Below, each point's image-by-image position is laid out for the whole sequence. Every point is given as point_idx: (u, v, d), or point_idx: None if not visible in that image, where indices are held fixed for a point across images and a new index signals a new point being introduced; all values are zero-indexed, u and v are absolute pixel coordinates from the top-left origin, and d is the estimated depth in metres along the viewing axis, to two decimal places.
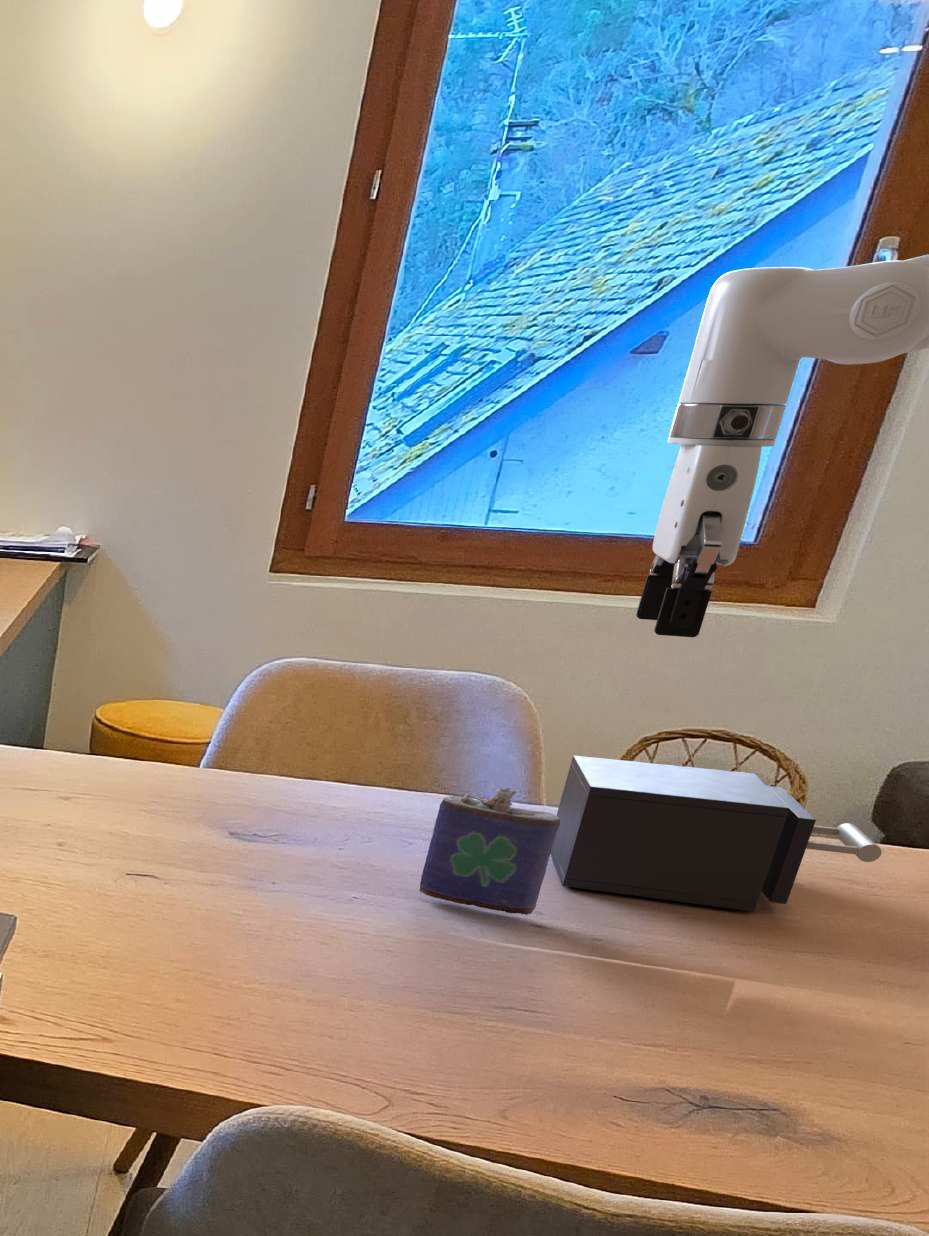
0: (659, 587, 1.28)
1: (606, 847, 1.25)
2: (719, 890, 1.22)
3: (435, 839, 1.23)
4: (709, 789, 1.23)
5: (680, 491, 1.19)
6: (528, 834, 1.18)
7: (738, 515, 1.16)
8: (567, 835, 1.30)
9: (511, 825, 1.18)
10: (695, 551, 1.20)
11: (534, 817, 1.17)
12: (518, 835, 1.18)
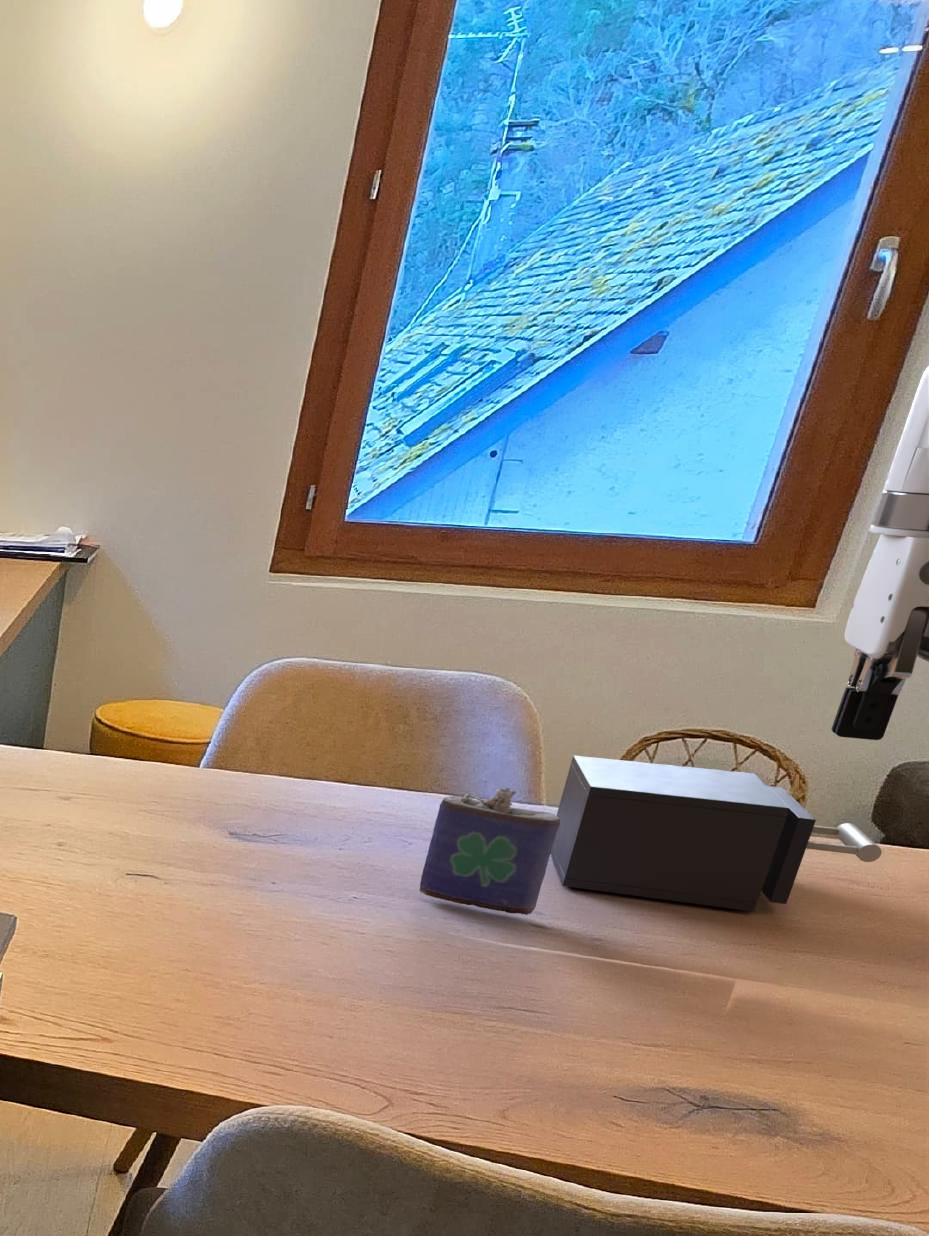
0: None
1: (606, 847, 1.25)
2: (719, 890, 1.22)
3: (435, 839, 1.23)
4: (709, 789, 1.23)
5: (887, 584, 1.13)
6: (528, 834, 1.18)
7: None
8: (567, 835, 1.30)
9: (511, 825, 1.18)
10: None
11: (534, 817, 1.17)
12: (518, 835, 1.18)
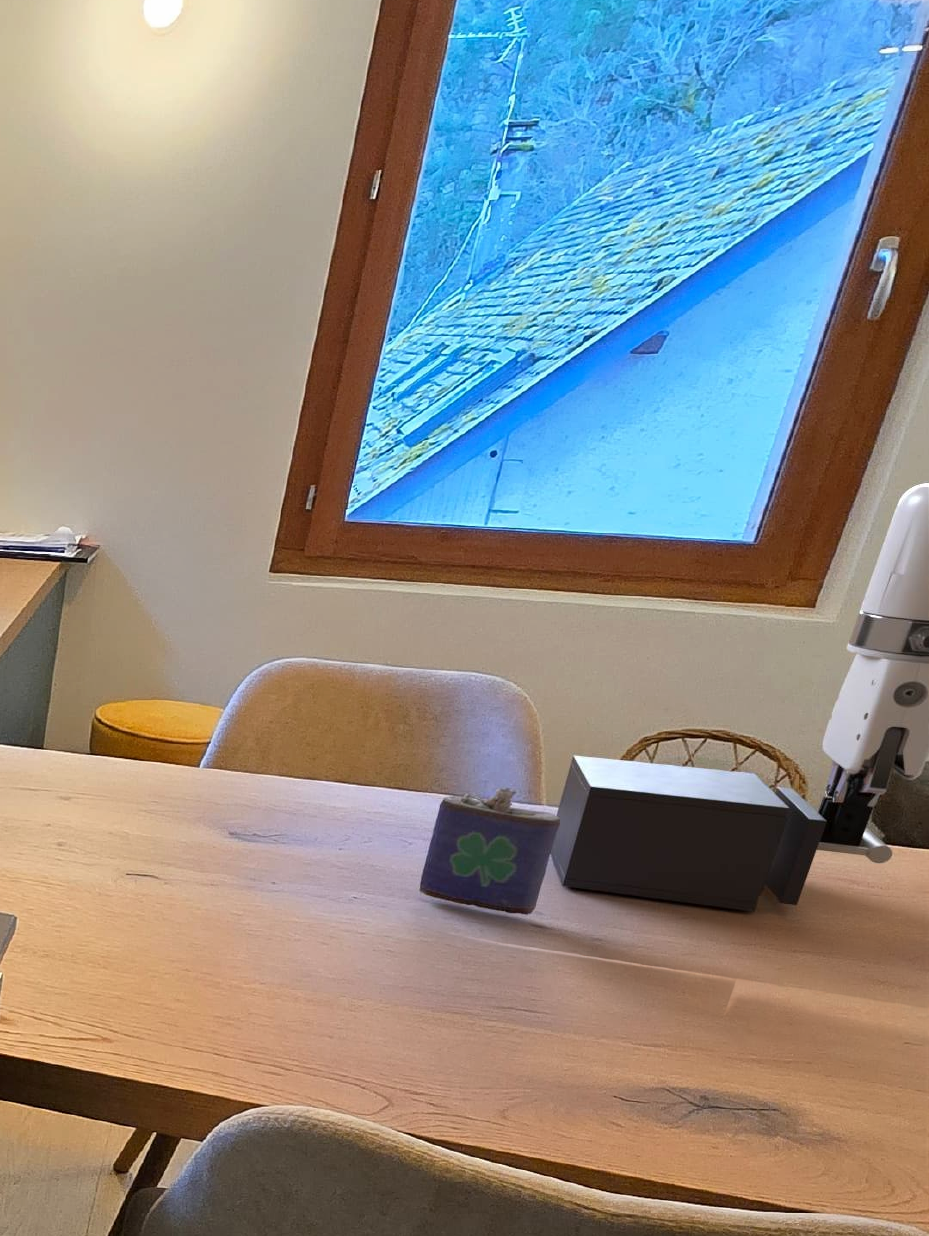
0: None
1: (606, 847, 1.25)
2: (719, 890, 1.22)
3: (435, 839, 1.23)
4: (709, 789, 1.23)
5: (863, 702, 1.16)
6: (528, 834, 1.18)
7: (926, 732, 1.13)
8: (567, 835, 1.30)
9: (511, 825, 1.18)
10: None
11: (534, 817, 1.17)
12: (518, 835, 1.18)
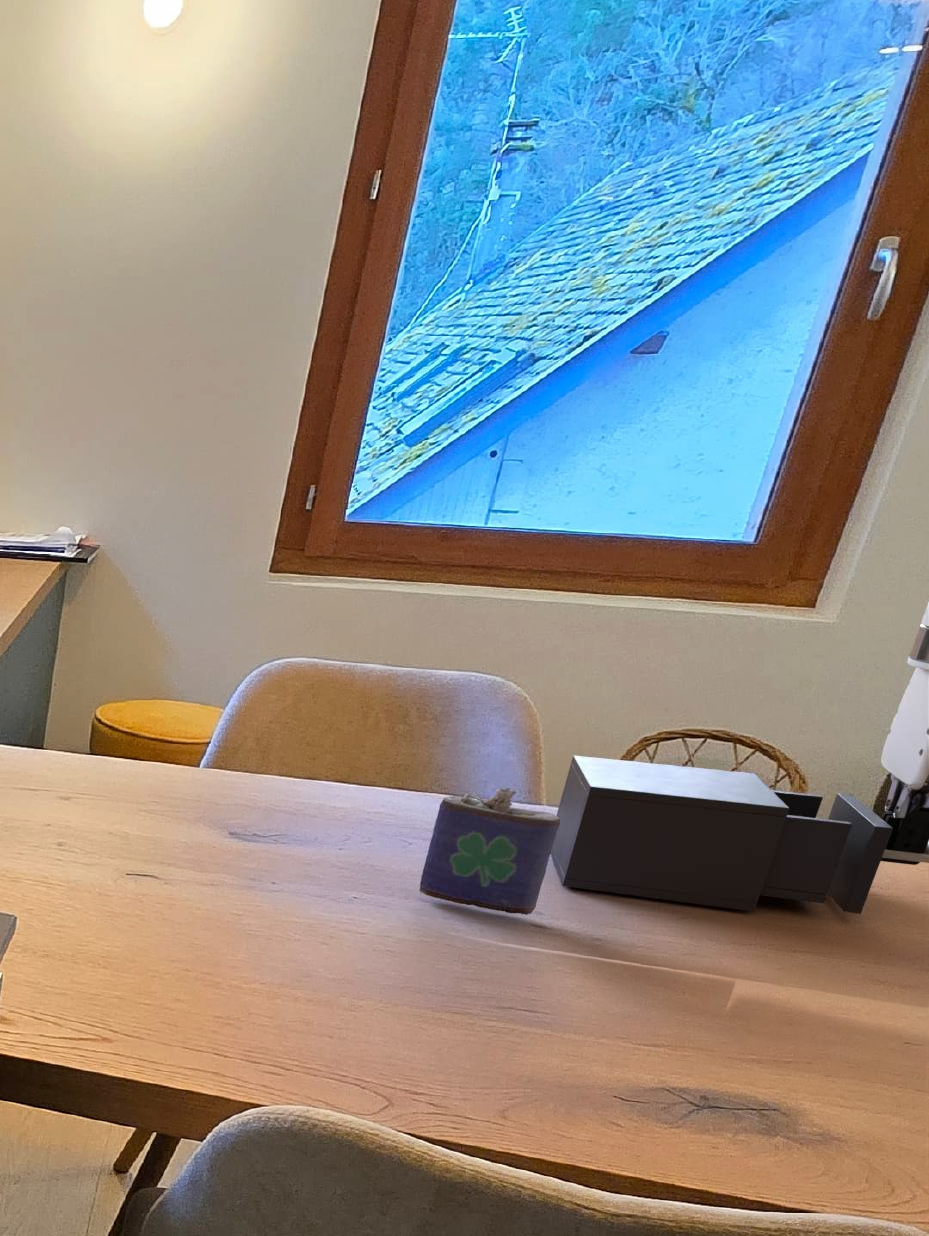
0: None
1: (606, 847, 1.25)
2: (719, 890, 1.22)
3: (435, 839, 1.23)
4: (709, 789, 1.23)
5: (925, 717, 1.15)
6: (528, 834, 1.18)
7: None
8: (567, 835, 1.30)
9: (511, 825, 1.18)
10: None
11: (534, 817, 1.17)
12: (518, 835, 1.18)
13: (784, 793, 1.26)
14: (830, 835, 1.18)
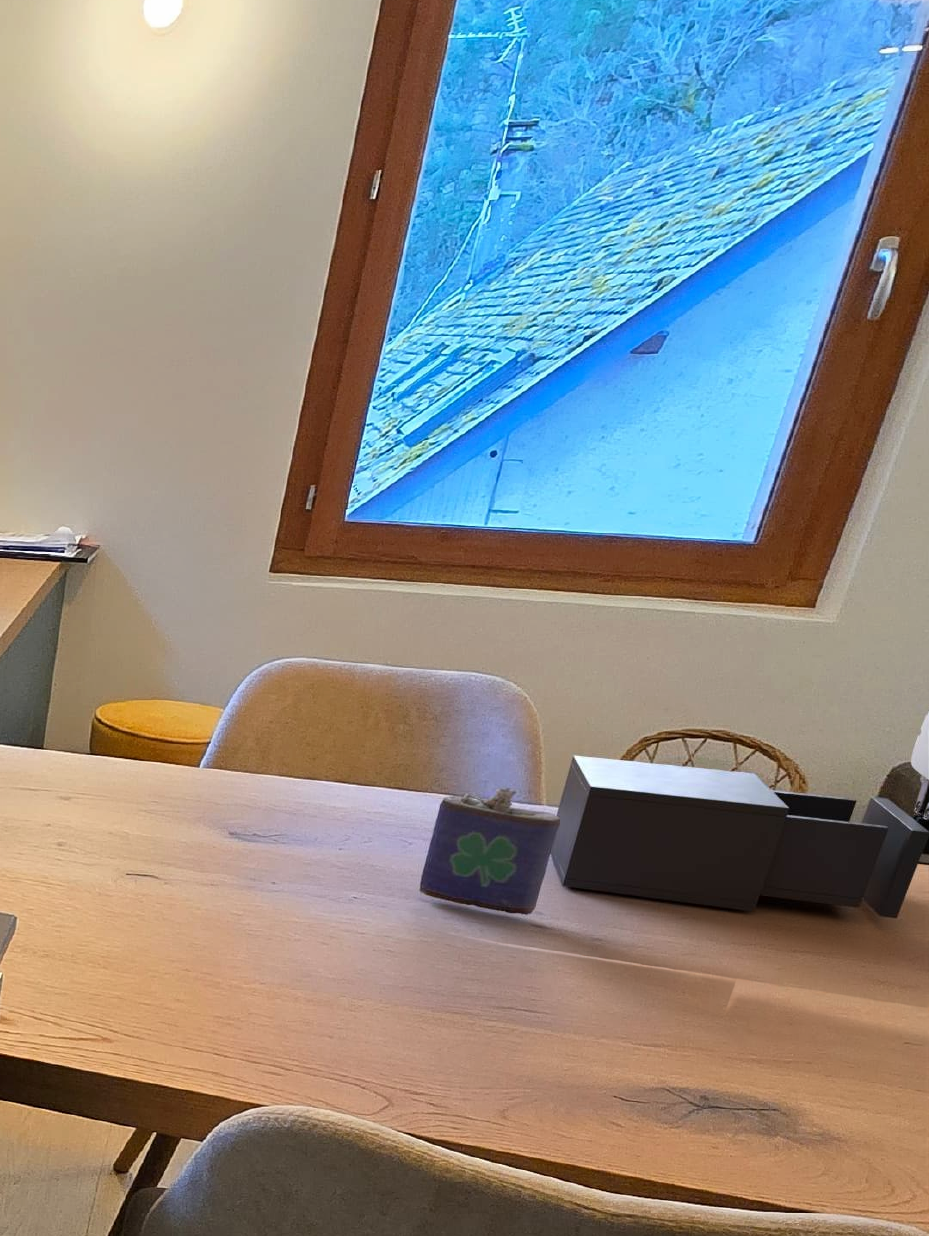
0: None
1: (606, 847, 1.25)
2: (719, 890, 1.22)
3: (435, 839, 1.23)
4: (709, 789, 1.23)
5: None
6: (528, 834, 1.18)
7: None
8: (567, 835, 1.30)
9: (511, 825, 1.18)
10: None
11: (534, 817, 1.17)
12: (518, 835, 1.18)
13: (817, 796, 1.25)
14: (866, 839, 1.17)
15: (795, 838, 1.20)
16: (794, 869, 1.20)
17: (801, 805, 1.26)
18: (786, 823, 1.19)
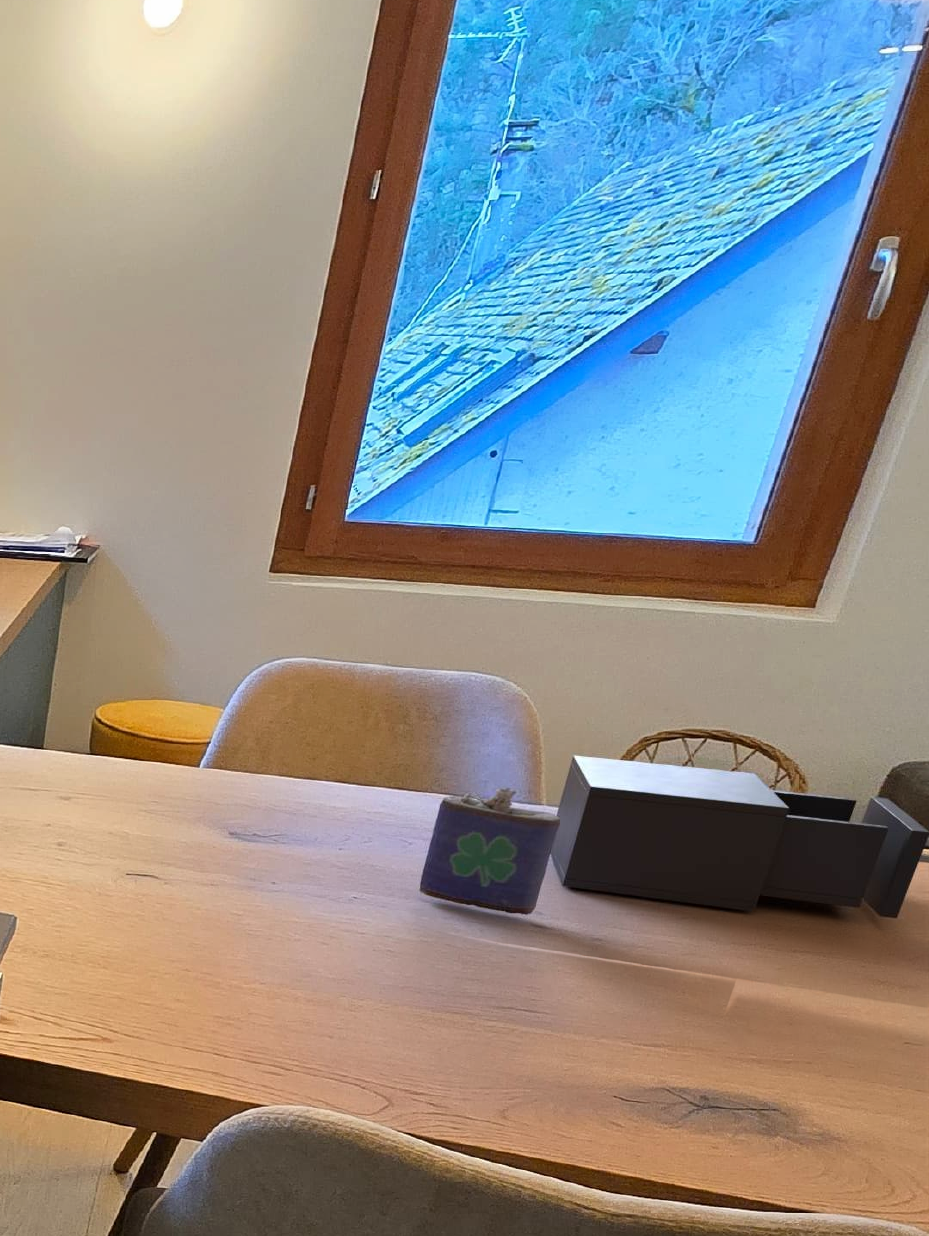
0: None
1: (606, 847, 1.25)
2: (719, 890, 1.22)
3: (435, 839, 1.23)
4: (709, 789, 1.23)
5: None
6: (528, 834, 1.18)
7: None
8: (567, 835, 1.30)
9: (511, 825, 1.18)
10: None
11: (534, 817, 1.17)
12: (518, 835, 1.18)
13: (817, 796, 1.25)
14: (866, 839, 1.17)
15: (795, 838, 1.20)
16: (794, 869, 1.20)
17: (801, 805, 1.26)
18: (786, 823, 1.19)
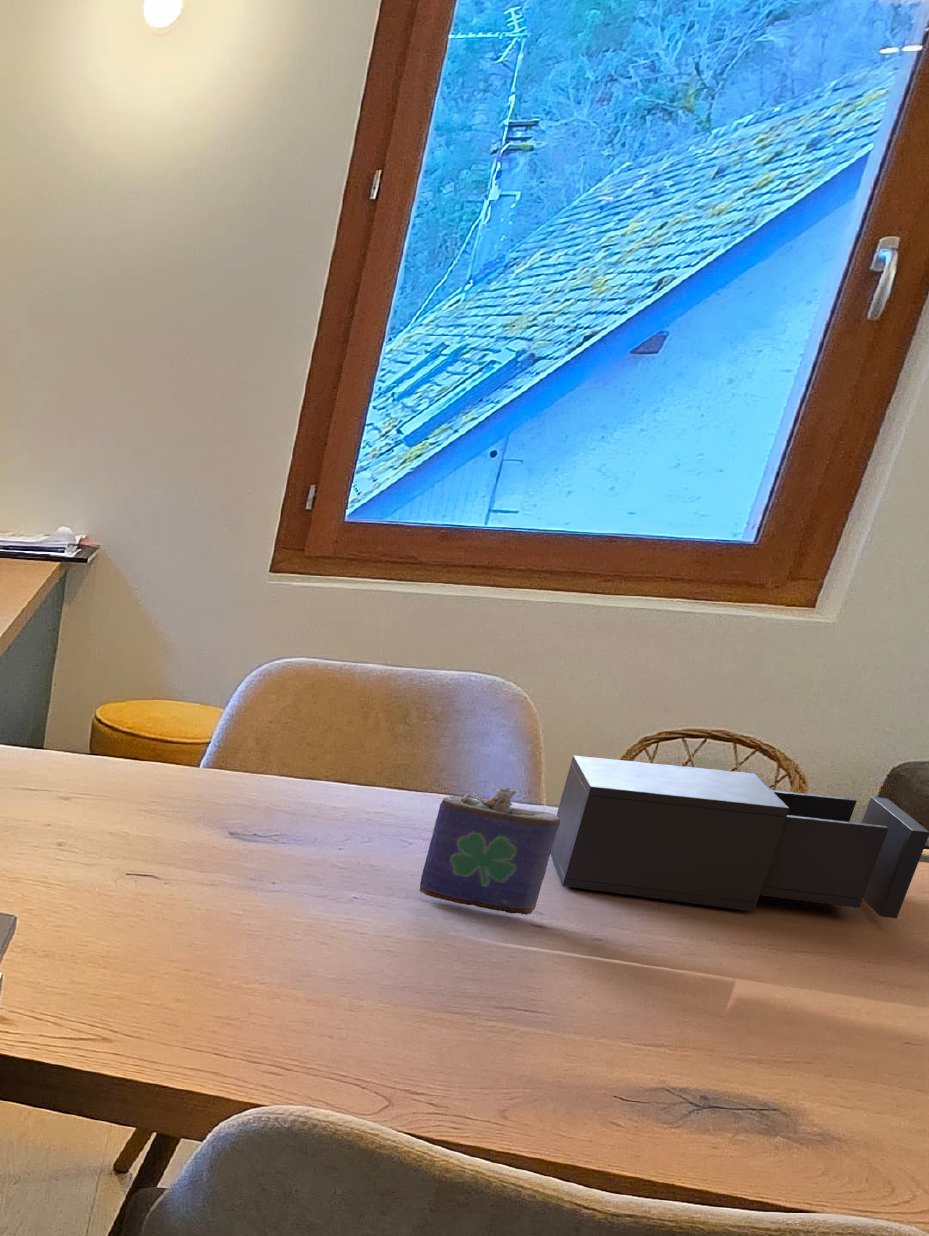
0: None
1: (606, 847, 1.25)
2: (719, 890, 1.22)
3: (435, 839, 1.23)
4: (709, 789, 1.23)
5: None
6: (528, 834, 1.18)
7: None
8: (567, 835, 1.30)
9: (511, 825, 1.18)
10: None
11: (534, 817, 1.17)
12: (518, 835, 1.18)
13: (817, 796, 1.25)
14: (866, 839, 1.17)
15: (795, 838, 1.20)
16: (794, 869, 1.20)
17: (801, 805, 1.26)
18: (786, 823, 1.19)
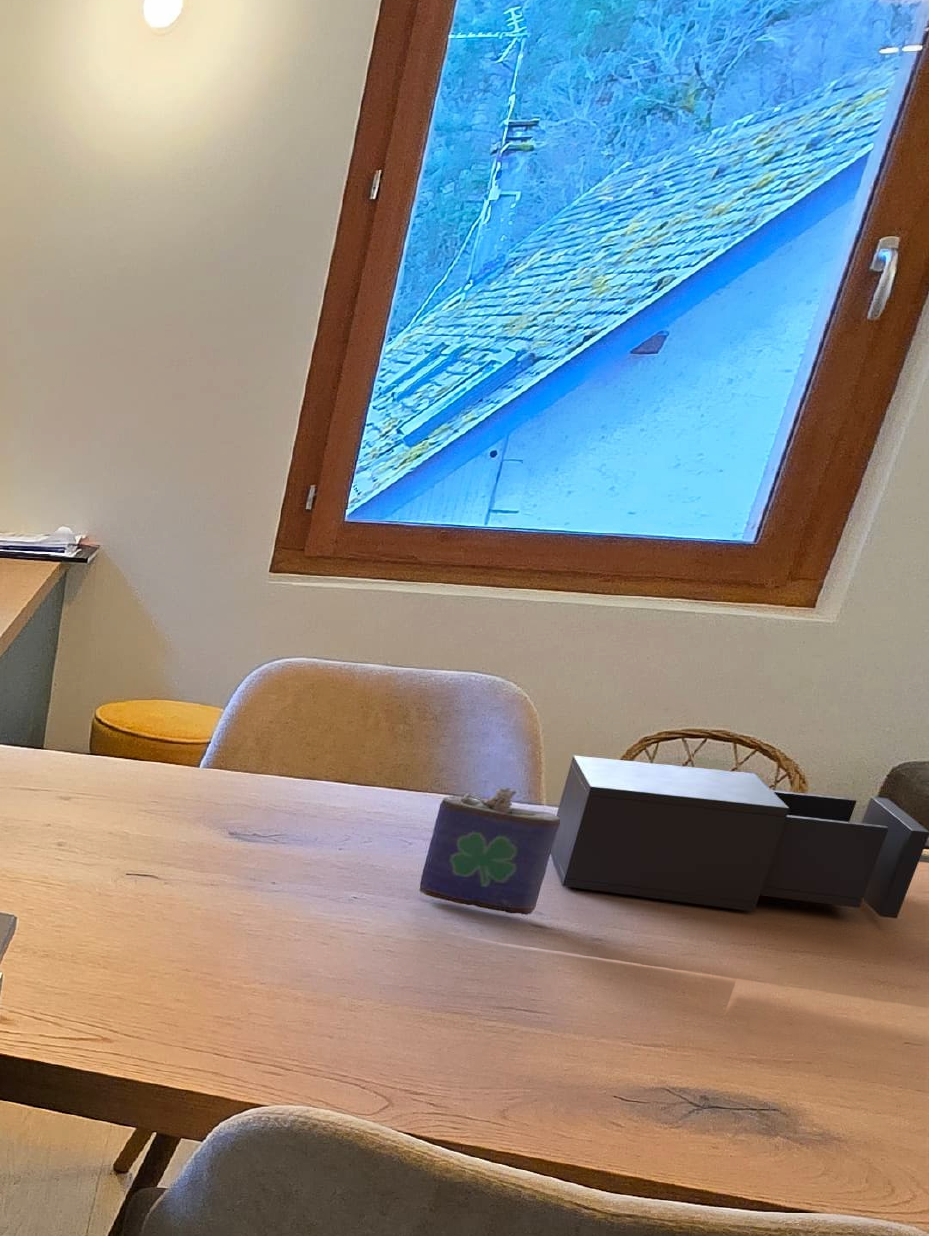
0: None
1: (606, 847, 1.25)
2: (719, 890, 1.22)
3: (435, 839, 1.23)
4: (709, 789, 1.23)
5: None
6: (528, 834, 1.18)
7: None
8: (567, 835, 1.30)
9: (511, 825, 1.18)
10: None
11: (534, 817, 1.17)
12: (518, 835, 1.18)
13: (817, 796, 1.25)
14: (866, 839, 1.17)
15: (795, 838, 1.20)
16: (794, 869, 1.20)
17: (801, 805, 1.26)
18: (786, 823, 1.19)
